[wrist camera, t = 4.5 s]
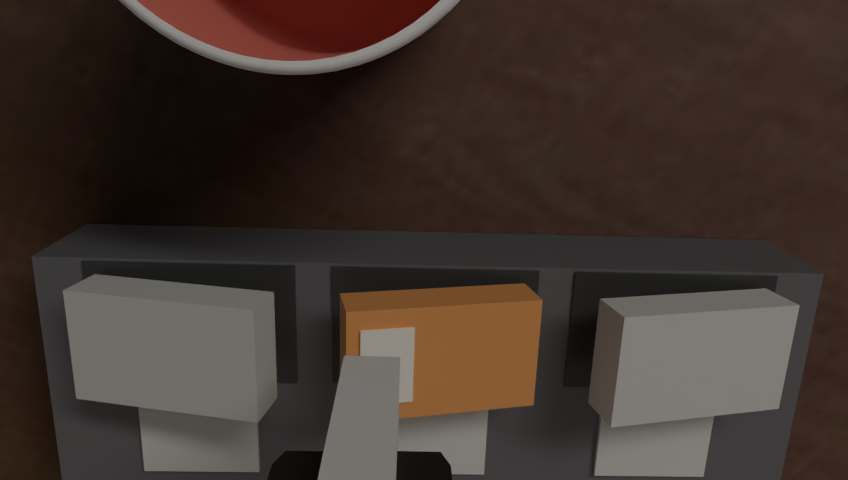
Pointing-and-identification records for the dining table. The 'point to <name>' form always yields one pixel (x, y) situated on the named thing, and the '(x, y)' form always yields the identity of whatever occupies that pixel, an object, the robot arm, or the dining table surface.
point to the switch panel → (403, 270)
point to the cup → (291, 30)
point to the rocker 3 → (690, 355)
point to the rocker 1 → (173, 346)
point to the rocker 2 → (449, 344)
